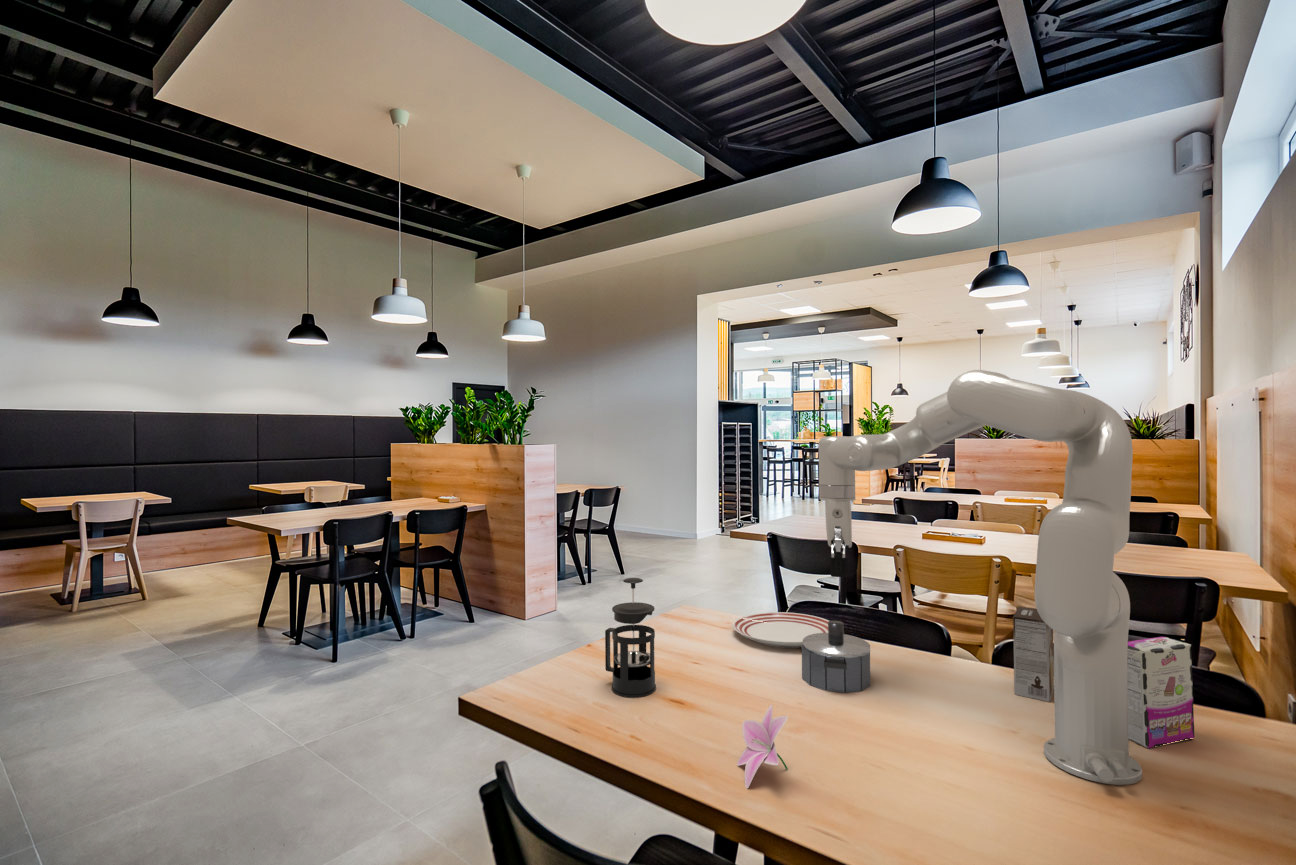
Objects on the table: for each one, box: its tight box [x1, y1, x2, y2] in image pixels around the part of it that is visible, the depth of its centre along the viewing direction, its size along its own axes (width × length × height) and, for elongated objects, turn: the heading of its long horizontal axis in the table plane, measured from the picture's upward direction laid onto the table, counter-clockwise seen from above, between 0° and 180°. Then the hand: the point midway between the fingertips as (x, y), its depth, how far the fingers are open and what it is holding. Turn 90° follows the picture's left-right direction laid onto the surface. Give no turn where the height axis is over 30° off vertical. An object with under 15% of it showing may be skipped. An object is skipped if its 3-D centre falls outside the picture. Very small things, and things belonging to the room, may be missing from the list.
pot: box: [801, 642, 871, 694], centre depth 131 cm, size 17×14×7 cm
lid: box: [803, 620, 871, 659], centre depth 130 cm, size 14×14×6 cm
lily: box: [736, 703, 789, 789], centre depth 94 cm, size 12×12×10 cm
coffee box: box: [1012, 606, 1054, 703], centre depth 124 cm, size 9×6×16 cm
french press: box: [604, 577, 657, 699], centre depth 127 cm, size 12×9×23 cm
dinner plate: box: [731, 611, 830, 649], centre depth 159 cm, size 28×27×3 cm
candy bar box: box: [1127, 636, 1196, 749], centre depth 104 cm, size 11×5×16 cm, turn 105°
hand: (838, 571), depth 130 cm, fingers open, 9 cm apart
